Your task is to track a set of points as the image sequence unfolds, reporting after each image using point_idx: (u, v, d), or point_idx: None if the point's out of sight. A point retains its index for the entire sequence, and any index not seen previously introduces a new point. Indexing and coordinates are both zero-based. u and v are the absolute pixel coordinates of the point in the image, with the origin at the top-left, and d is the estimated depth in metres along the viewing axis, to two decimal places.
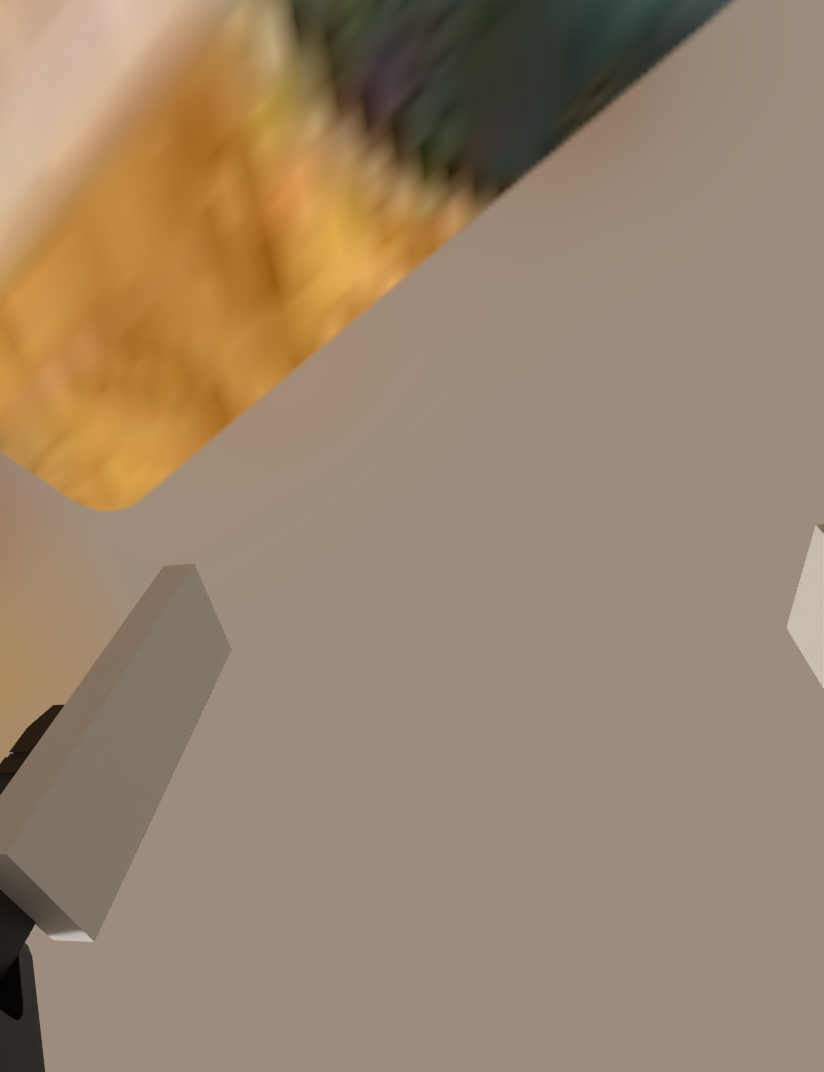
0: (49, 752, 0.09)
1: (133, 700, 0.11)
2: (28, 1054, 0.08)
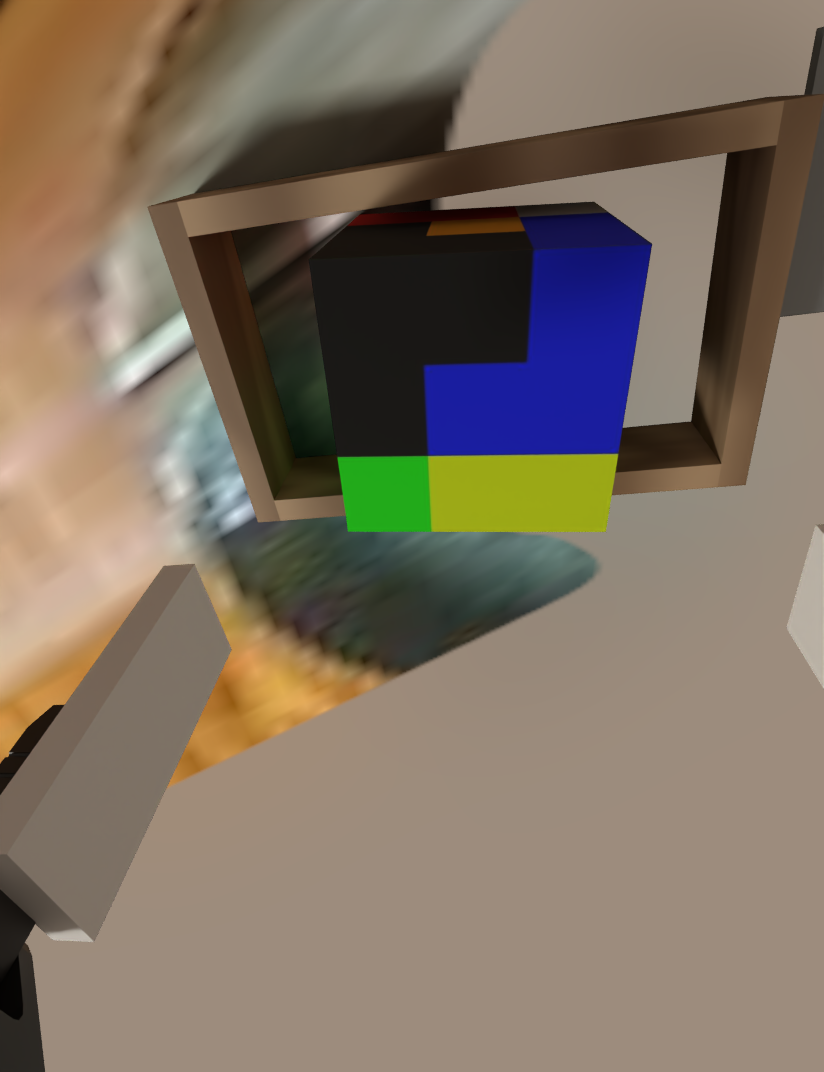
0: (49, 752, 0.09)
1: (133, 700, 0.11)
2: (28, 1055, 0.08)
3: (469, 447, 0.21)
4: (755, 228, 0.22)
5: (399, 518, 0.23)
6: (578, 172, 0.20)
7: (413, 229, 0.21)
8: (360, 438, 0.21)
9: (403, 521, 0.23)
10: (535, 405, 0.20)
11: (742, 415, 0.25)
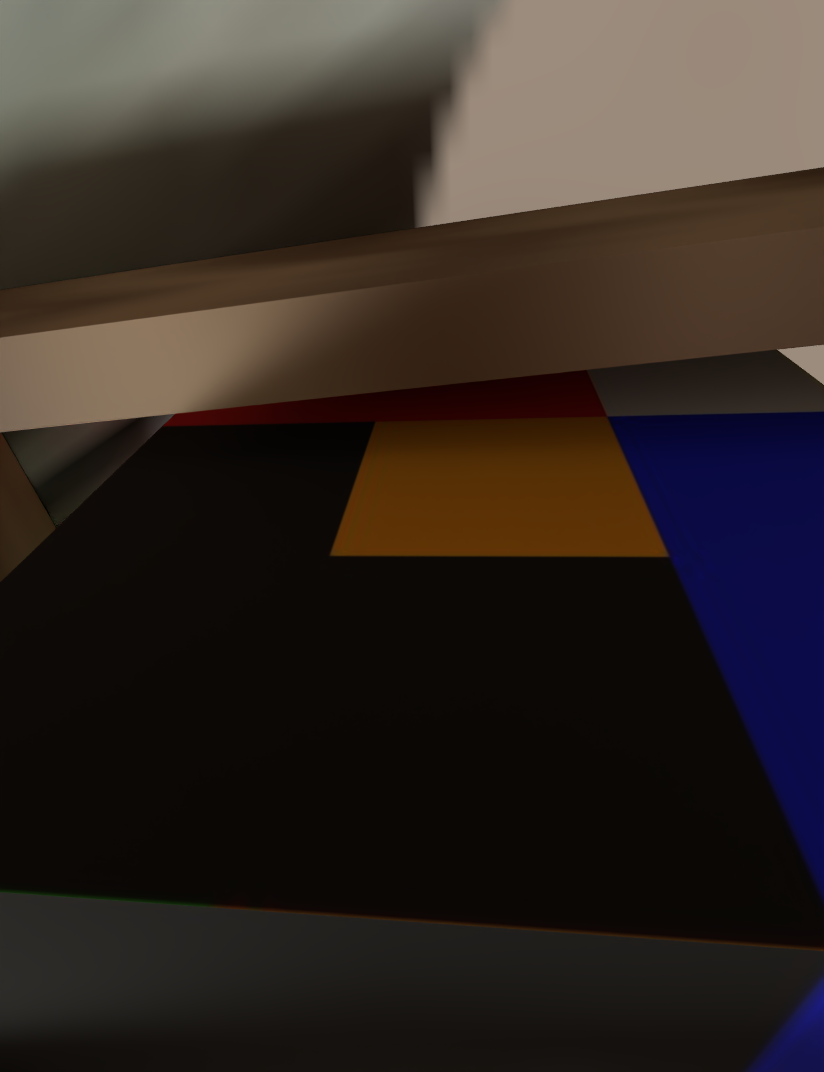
0: None
1: None
2: None
3: None
4: None
5: None
6: (821, 334, 0.06)
7: (310, 481, 0.07)
8: None
9: None
10: None
11: None
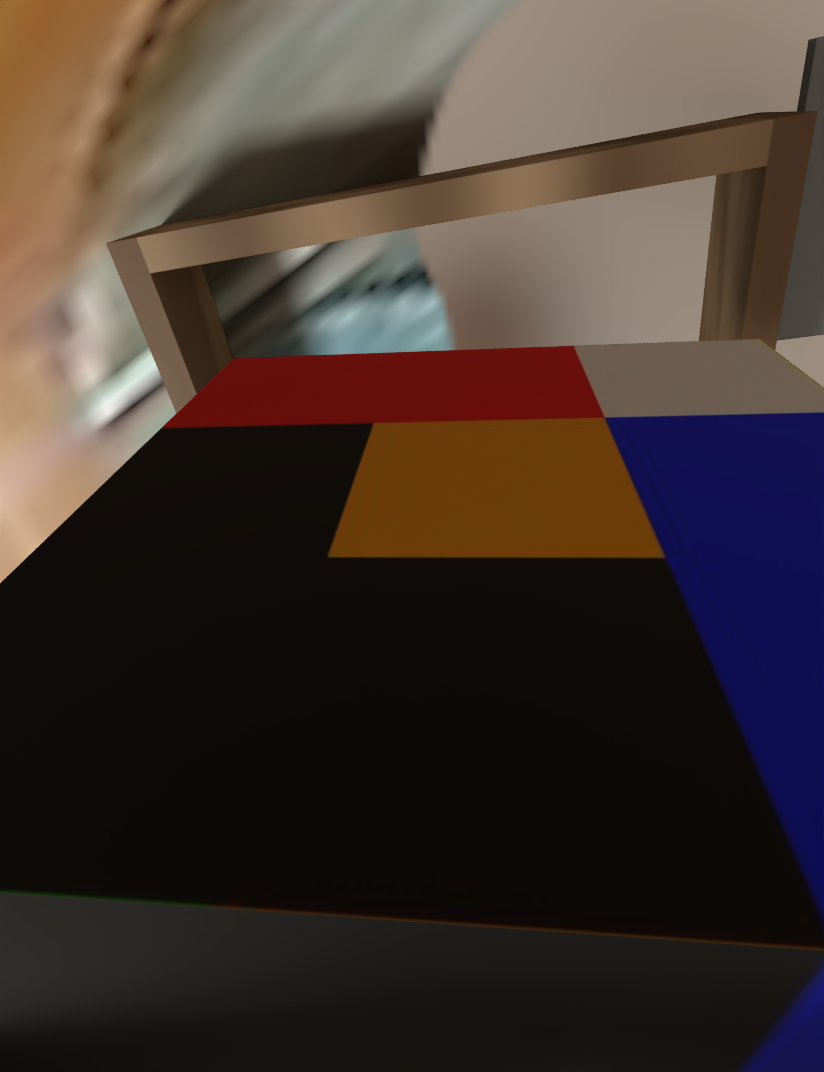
0: None
1: None
2: None
3: None
4: (747, 253, 0.20)
5: None
6: (555, 199, 0.19)
7: (308, 482, 0.07)
8: None
9: None
10: None
11: None
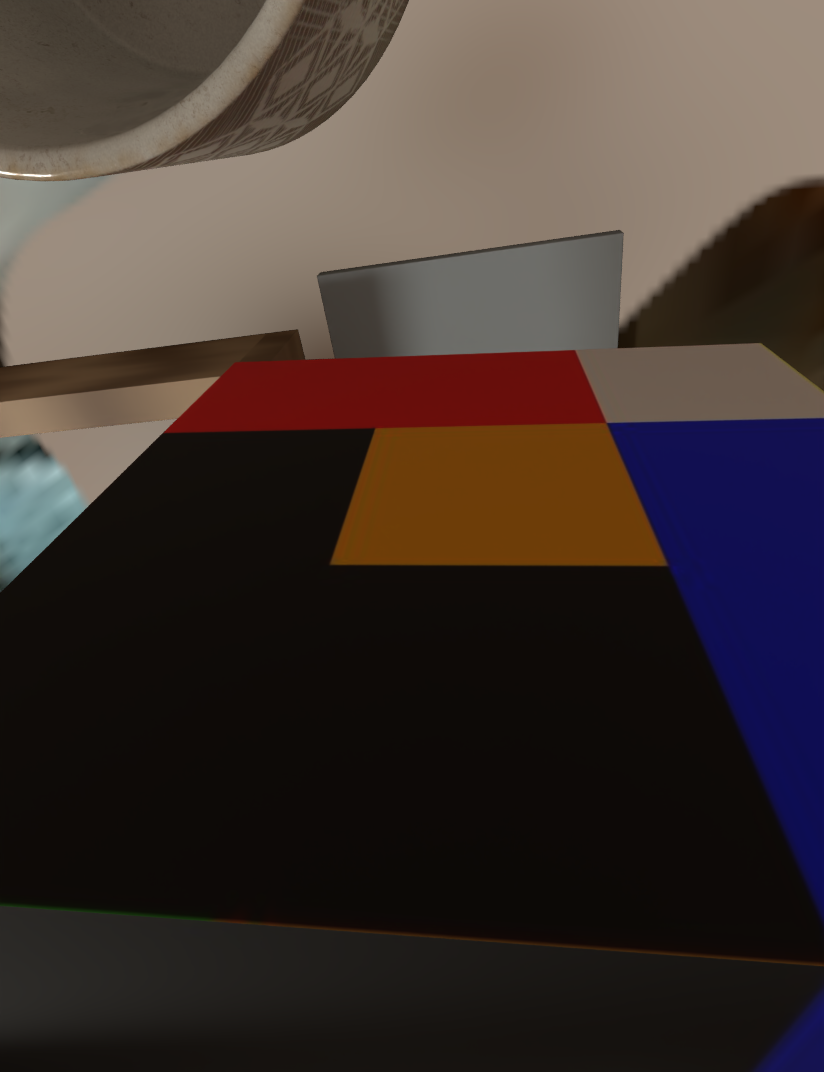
0: None
1: None
2: None
3: None
4: None
5: None
6: (57, 428, 0.20)
7: (310, 489, 0.07)
8: None
9: None
10: None
11: None
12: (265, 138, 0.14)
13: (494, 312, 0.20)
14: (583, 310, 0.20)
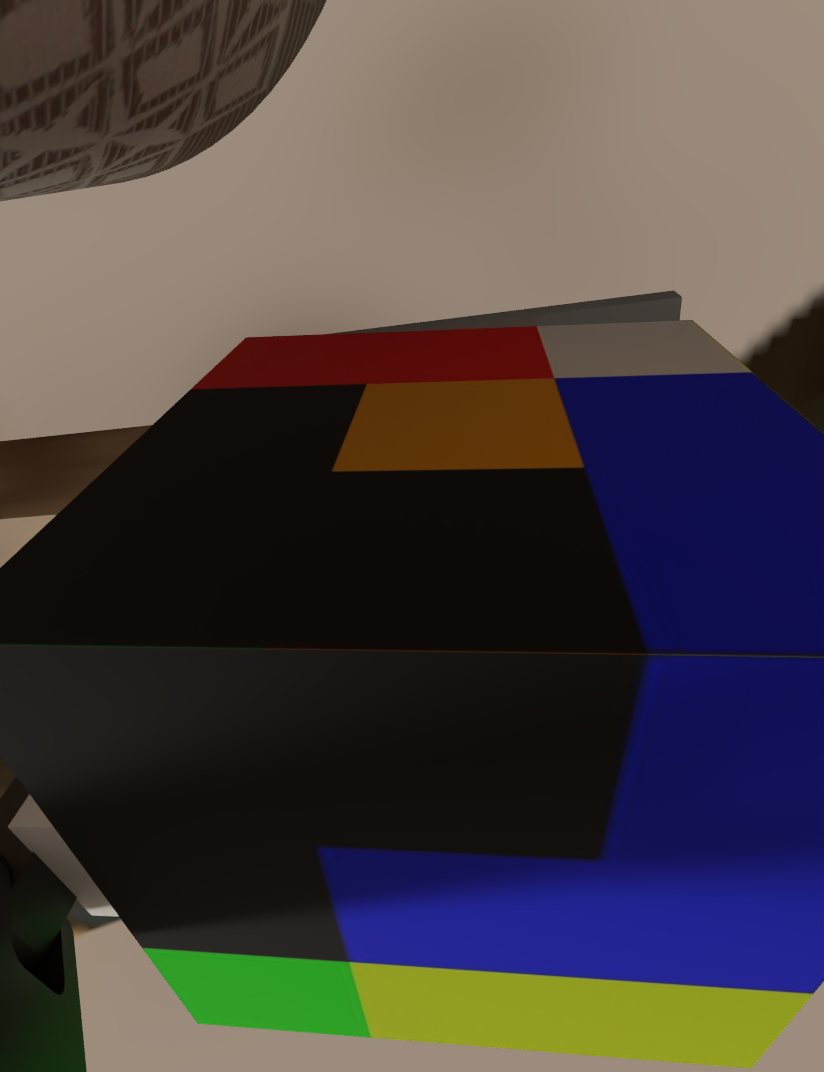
0: None
1: None
2: (69, 1029, 0.08)
3: (446, 959, 0.09)
4: None
5: (300, 1020, 0.11)
6: None
7: (315, 425, 0.09)
8: (185, 930, 0.09)
9: (309, 1023, 0.11)
10: (614, 921, 0.08)
11: None
12: (91, 164, 0.08)
13: None
14: None
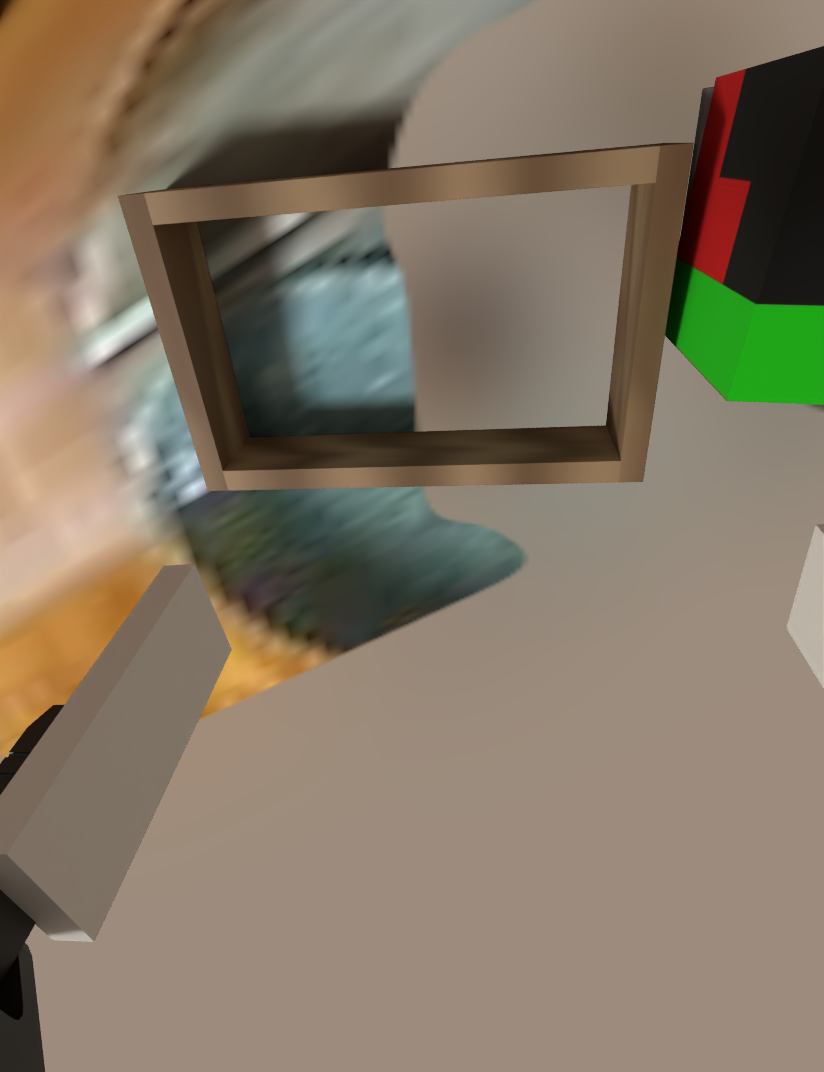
0: (49, 752, 0.09)
1: (134, 700, 0.11)
2: (28, 1055, 0.08)
3: None
4: (643, 253, 0.25)
5: (794, 386, 0.21)
6: (490, 193, 0.24)
7: None
8: (794, 280, 0.19)
9: (797, 389, 0.21)
10: None
11: (637, 418, 0.28)
12: None
13: None
14: None
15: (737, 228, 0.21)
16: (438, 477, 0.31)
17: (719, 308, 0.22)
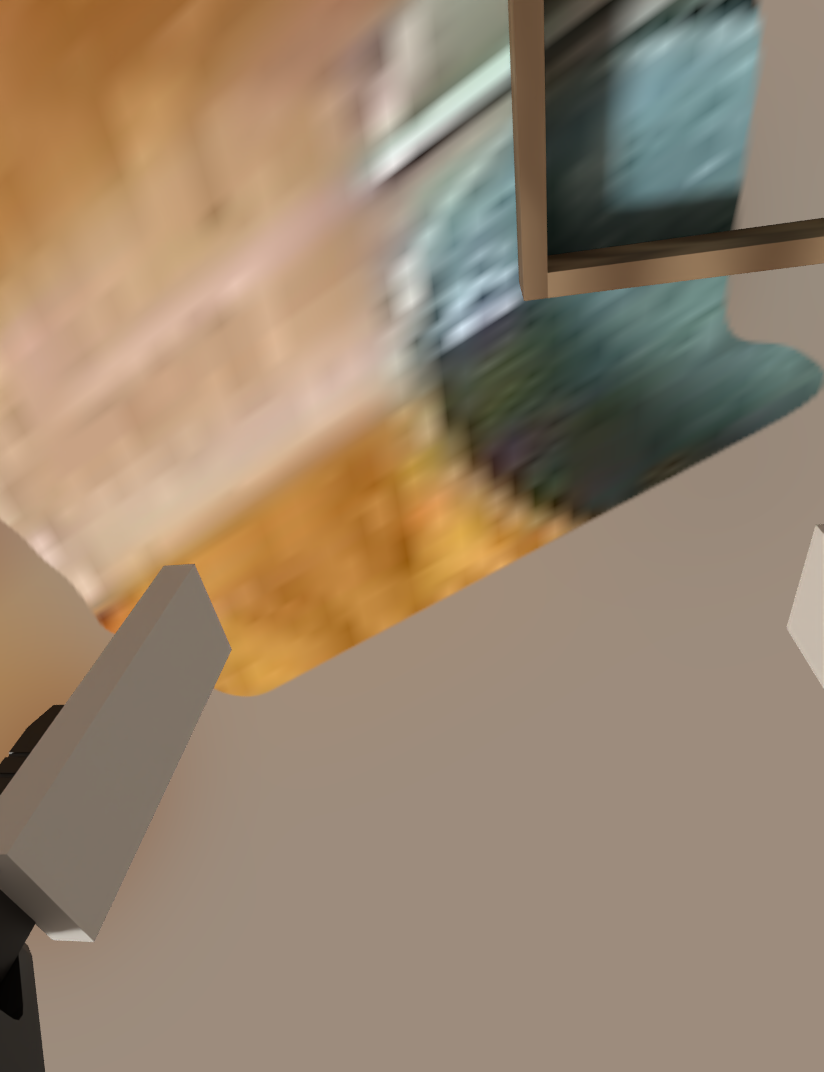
0: (49, 752, 0.09)
1: (133, 700, 0.11)
2: (28, 1054, 0.08)
3: None
4: None
5: None
6: None
7: None
8: None
9: None
10: None
11: None
12: None
13: None
14: None
15: None
16: (800, 255, 0.28)
17: None
